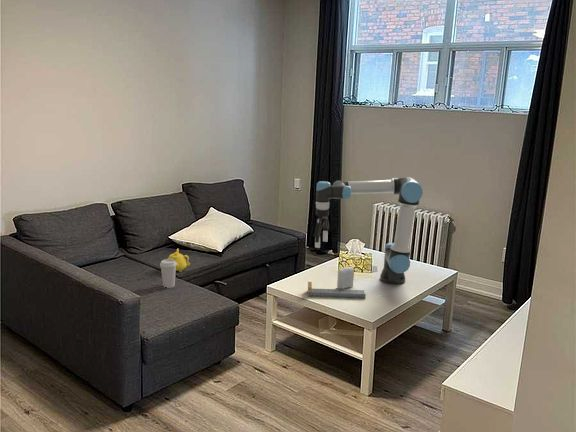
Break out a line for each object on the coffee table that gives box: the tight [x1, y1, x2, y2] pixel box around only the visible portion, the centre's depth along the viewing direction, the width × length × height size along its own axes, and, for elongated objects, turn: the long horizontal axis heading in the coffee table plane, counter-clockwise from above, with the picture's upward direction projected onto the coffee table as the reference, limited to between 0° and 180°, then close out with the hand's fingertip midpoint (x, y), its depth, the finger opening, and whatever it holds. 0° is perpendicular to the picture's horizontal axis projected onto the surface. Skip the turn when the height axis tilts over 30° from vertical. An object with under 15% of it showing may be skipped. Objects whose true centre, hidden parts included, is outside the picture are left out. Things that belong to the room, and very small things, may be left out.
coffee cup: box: [159, 258, 177, 289], centre depth 317 cm, size 10×10×15 cm
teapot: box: [167, 248, 191, 273], centre depth 344 cm, size 20×15×12 cm
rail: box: [307, 281, 367, 300], centre depth 311 cm, size 32×9×6 cm, turn 88°
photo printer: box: [336, 266, 355, 290], centre depth 323 cm, size 10×4×12 cm, turn 123°
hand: (321, 244), depth 320 cm, fingers open, 13 cm apart
